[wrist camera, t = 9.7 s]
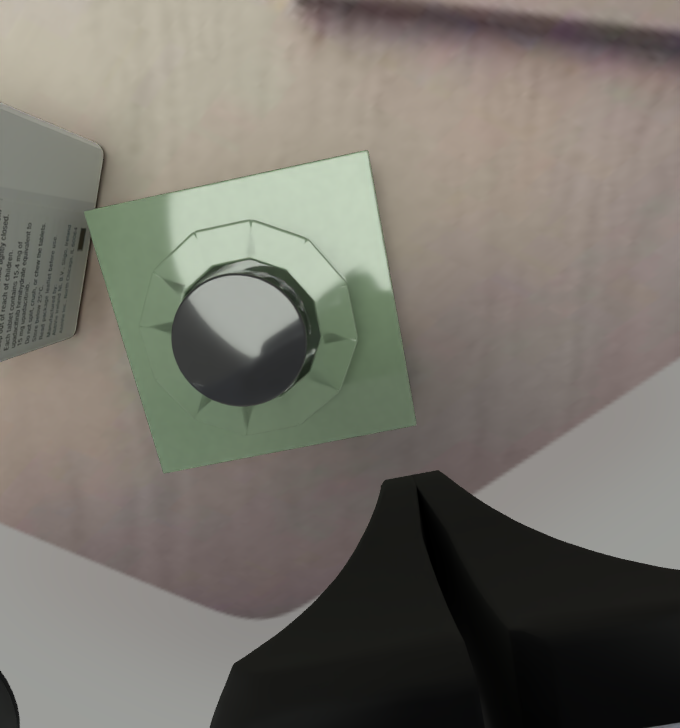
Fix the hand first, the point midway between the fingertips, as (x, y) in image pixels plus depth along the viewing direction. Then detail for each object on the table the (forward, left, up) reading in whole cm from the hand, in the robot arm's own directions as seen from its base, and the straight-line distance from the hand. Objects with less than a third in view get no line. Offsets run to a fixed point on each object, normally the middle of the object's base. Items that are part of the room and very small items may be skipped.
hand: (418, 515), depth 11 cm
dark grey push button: (+4, +4, -6) cm, 8 cm away
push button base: (+4, +4, -10) cm, 12 cm away
